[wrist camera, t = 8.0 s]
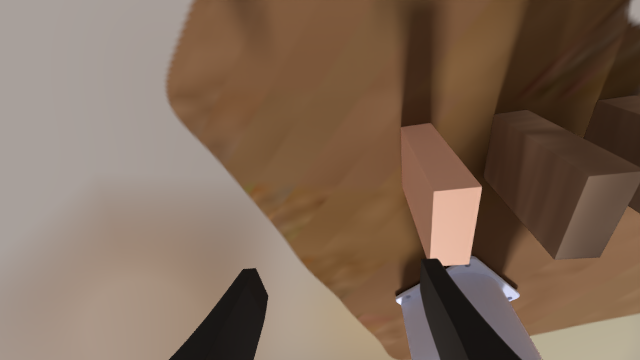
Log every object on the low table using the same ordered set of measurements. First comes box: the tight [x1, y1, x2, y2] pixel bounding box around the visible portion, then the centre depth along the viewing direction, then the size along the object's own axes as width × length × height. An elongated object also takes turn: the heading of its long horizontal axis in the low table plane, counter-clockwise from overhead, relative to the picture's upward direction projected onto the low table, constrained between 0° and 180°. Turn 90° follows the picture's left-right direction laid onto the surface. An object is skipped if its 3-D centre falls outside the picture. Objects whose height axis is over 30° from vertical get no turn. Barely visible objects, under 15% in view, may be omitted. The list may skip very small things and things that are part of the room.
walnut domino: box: [483, 110, 640, 260], centre depth 15 cm, size 2×5×8 cm, turn 10°
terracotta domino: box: [401, 123, 482, 266], centre depth 16 cm, size 2×5×8 cm, turn 10°
